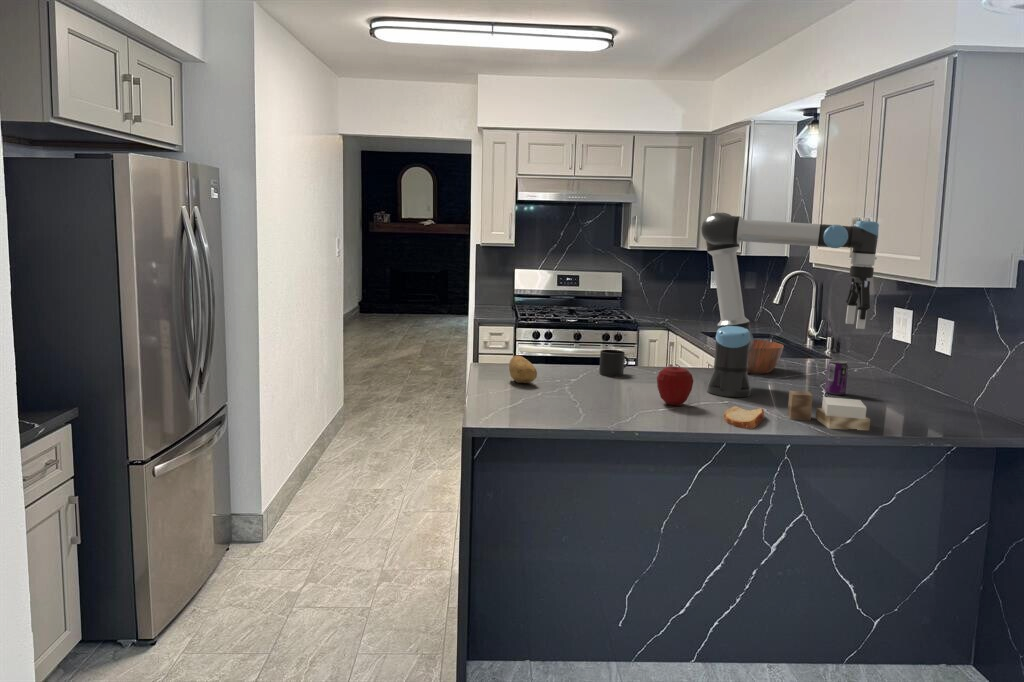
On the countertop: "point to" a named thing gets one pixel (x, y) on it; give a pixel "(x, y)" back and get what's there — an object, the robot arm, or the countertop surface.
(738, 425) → the slice of bread
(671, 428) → the countertop surface
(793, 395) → the walnut block
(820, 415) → the tower base
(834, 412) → the tower top
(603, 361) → the mug
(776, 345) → the bowl
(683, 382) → the apple
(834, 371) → the beverage can
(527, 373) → the potato
